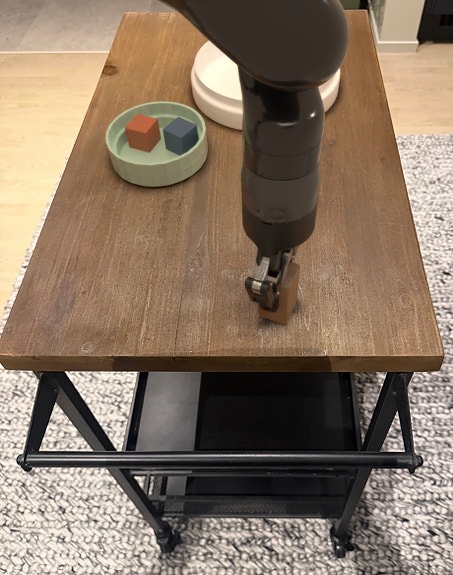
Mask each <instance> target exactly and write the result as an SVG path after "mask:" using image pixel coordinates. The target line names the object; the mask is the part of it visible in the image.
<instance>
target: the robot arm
mask: <svg viewBox="0 0 453 575" xmlns="http://www.w3.org/2000/svg"><path fill="white" fill-rule="evenodd" d="M157 1H158V2H160V3H161V4H164V5H165V6H167V7H168V8H171V9H173V10H174V11H176V12H177V13H178V14H180V15H181V16H182V17H183V18H184V19H185V20H187V21H188V22H189V23H190V24H191V25H192V26H193V27H194V28H195V29H196V30H197V31H198V32H199V33H200V34H201V35H202V36H203V37H204V38H205V39H206V40H207V41H210V42H211V43H212V44H214V45H215V46H216V47H217V48H218V49H219V50H220V51H221V52H223V53H224V54H225V55H226V56H227V57H228V58H229V59H230V60H232V61H233V62H234V63H235V64H236V65H237V67H238V74H239V81H240V87H241V93H242V105H243V119H242V130H241V139H242V140H241V141H242V162H241V170H240V192H241V194H240V195H241V221H242V222H241V223H242V228H243V231H244V234H245V235H246V236H247V237H248V239H249V240H250V241H251V242H252V243H253V244H254V250H253V254H254V257H255V260H254V270H253V275H254V276H253V275H251V276H249V275H248V276H247V277H246V279H245V280H244V289H245V291H246V293H247V296H248V298H249V300H250V302H252V303H256V304H258V303H259V306H260V309H261V310H264V311H267V312H270V313H272V312H274V313H275V312H277V309H278V306H279V294H280V292H279V291H280V285H281V284H283V282H284V280H285V278H286V275H287V269H288V263H289V261H290V262H293V263H294V261H295V260H296V256H297V252H298V251H299V248H300V246H301V245H302V244H304V243H305V242H307V241H308V240H309V239H310V237H311V236H312V235H313V233H314V230H315V228H316V222H317V213H318V206H319V198H320V190H321V182H322V152H323V145H324V144H323V143H324V135H325V125H326V112H325V111H324V104H323V101H322V97H321V94H320V91H319V88H318V87H319V86H321V85H323V84H324V83H326V82H327V81H328V80H330V79H331V78H332V77H333V76H334V75H335V74H336V73H337V71H338V70H339V68H340V69H341V67H342V66H343V63H344V61H345V59H346V56H347V53H348V51H349V50H348V49H349V44H350V27H349V21H348V17H347V15H346V12H345V9H344V7H343V5H342V3H341V1H340V0H157ZM279 270H280V272H277V271H279ZM273 283H274V286H272V285H273Z"/></svg>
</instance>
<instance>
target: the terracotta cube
mask: <svg viewBox="0 0 453 575" xmlns="http://www.w3.org/2000/svg"><path fill="white" fill-rule="evenodd" d="M125 131H126V135H127V139H128V143H129V147H130V148H134V149H138V150H141V151H145V152H149V153H150V152H151V151H152V150H153V148H154V147H155V146H156V145H157V143H158V142H159V141H160V140H161V134H160V129H159V124H158V119H156V118H152V117H148V116H144V115H140V114H136V115H135V116H134V118H133V119H132V120H131V121H130V122H129V123H128V124H127V126H126V127H125Z"/></svg>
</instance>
